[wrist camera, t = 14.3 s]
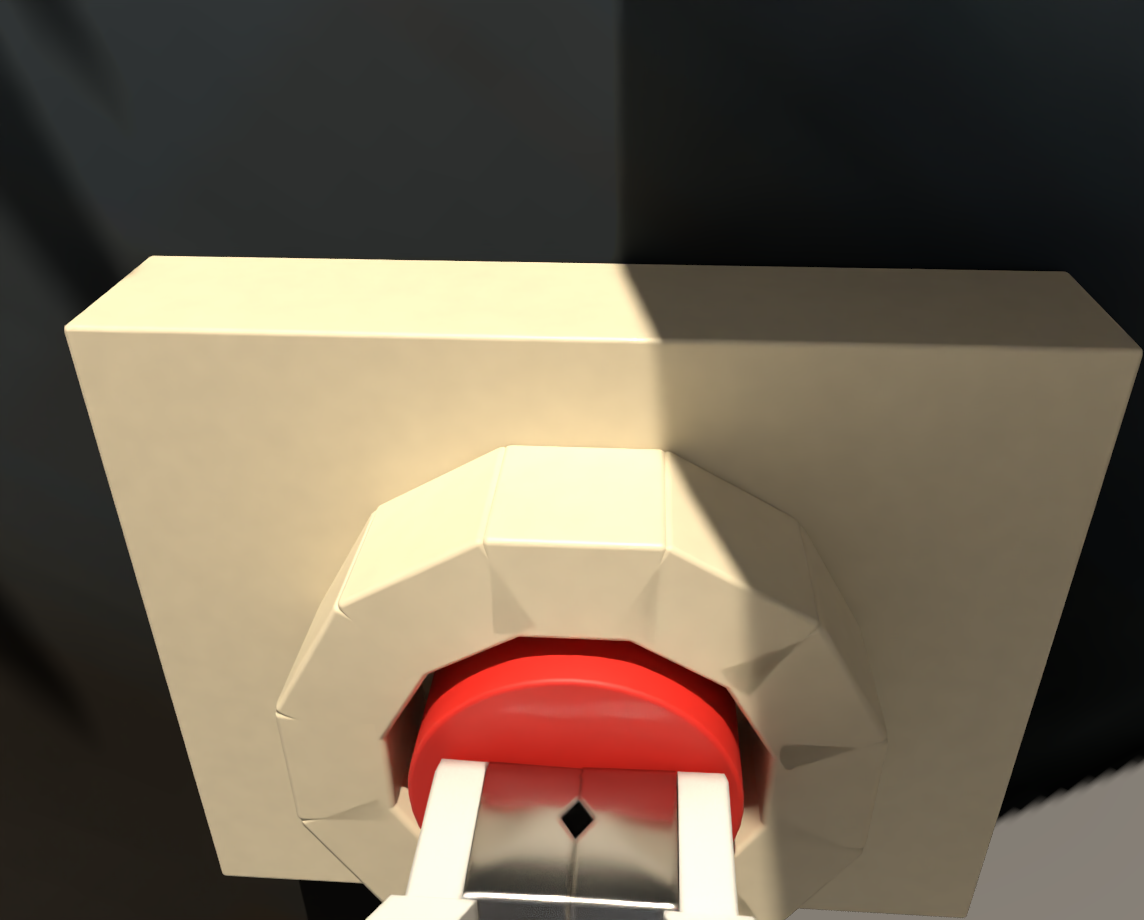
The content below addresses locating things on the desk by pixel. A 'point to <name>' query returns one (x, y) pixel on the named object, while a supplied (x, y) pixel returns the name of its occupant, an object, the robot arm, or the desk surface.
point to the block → (608, 530)
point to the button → (577, 714)
